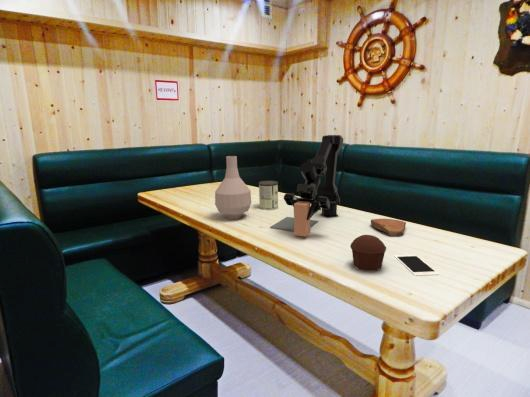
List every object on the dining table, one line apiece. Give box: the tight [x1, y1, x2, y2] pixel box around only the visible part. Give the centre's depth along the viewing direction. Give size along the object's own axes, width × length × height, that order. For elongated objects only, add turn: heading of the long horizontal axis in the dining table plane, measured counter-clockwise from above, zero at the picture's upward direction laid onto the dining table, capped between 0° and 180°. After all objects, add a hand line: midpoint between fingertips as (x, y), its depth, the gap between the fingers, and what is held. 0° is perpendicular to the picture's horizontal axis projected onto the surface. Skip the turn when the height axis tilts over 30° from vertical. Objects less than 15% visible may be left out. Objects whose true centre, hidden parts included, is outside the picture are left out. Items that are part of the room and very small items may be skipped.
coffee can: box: [258, 180, 279, 211], centre depth 192 cm, size 10×10×14 cm
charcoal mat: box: [269, 216, 319, 233], centre depth 162 cm, size 18×16×1 cm
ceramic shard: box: [370, 218, 407, 237], centre depth 151 cm, size 15×6×15 cm
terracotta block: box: [293, 201, 311, 237], centre depth 144 cm, size 5×5×13 cm
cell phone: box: [394, 254, 440, 277], centre depth 117 cm, size 8×16×1 cm, turn 3°
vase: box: [214, 155, 252, 220], centre depth 173 cm, size 18×18×30 cm
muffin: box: [349, 234, 387, 272], centre depth 116 cm, size 12×11×10 cm
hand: (301, 218), depth 143 cm, fingers closed on terracotta block, 5 cm apart
